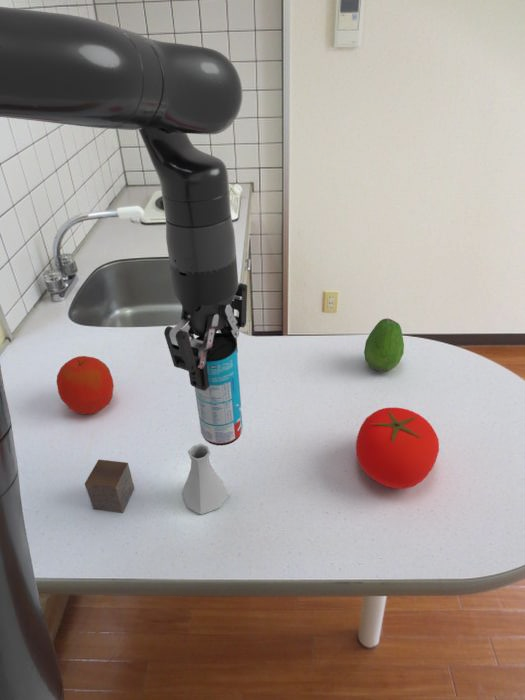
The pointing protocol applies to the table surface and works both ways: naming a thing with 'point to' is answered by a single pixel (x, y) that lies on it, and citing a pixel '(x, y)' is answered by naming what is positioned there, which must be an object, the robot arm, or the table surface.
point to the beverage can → (220, 393)
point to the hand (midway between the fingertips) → (215, 373)
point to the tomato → (397, 447)
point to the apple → (85, 384)
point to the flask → (203, 483)
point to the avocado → (384, 346)
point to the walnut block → (110, 486)
